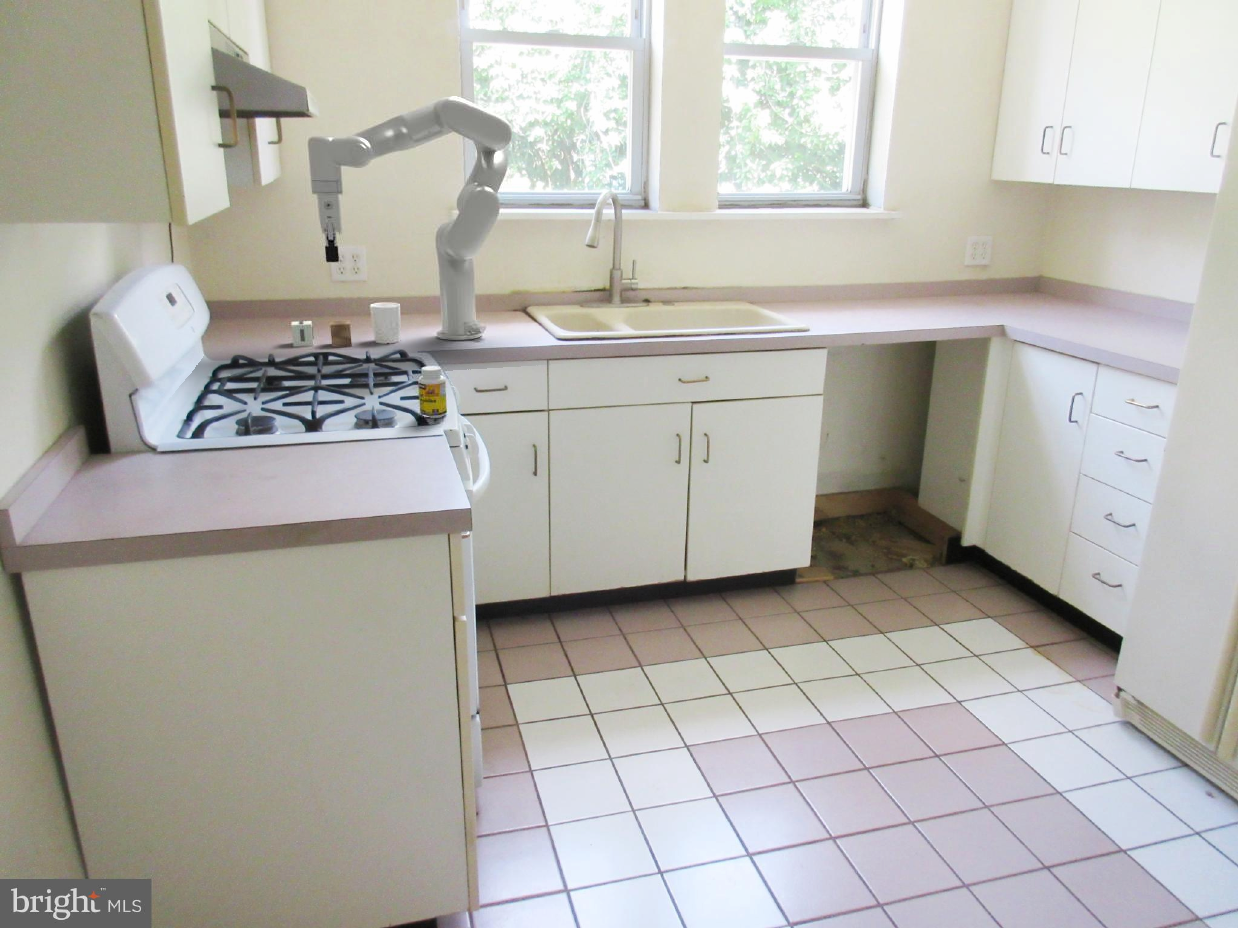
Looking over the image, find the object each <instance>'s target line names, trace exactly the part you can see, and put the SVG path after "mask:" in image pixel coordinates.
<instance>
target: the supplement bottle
mask: <svg viewBox="0 0 1238 928" xmlns="http://www.w3.org/2000/svg"><path fill="white" fill-rule="evenodd" d="M417 382H418V383H417V384H418V399H419V402H418V403H419V414H420V413H421V414H422V415H426V416H429V417H431V418H430V419H441V418H443V417H445V416H446V415H447V414H448V409H447V408H448V406H447V405H448V403H447V385H446V377H445V376H443V375H442V368H441V367H440V366H437V365H427V366H423V367H421V376H420V377H419V378H418V380H417ZM446 413H447V414H446ZM421 414H420V415H421ZM445 414H446V415H445ZM444 415H445V416H444ZM442 416H443V417H442Z"/></svg>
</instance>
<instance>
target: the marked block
mask: <svg viewBox="0 0 1238 928" xmlns="http://www.w3.org/2000/svg"><path fill="white" fill-rule="evenodd" d="M312 324H313V323H312V320H307V321H306V320H299V321H291V324H290V325H291V326H290V327H291V335H292V345H293V347H294V348H297V347H311V346H312V347H313V346H314V329H313V328H314V327H313V325H312Z"/></svg>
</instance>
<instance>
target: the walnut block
mask: <svg viewBox="0 0 1238 928" xmlns="http://www.w3.org/2000/svg"><path fill="white" fill-rule="evenodd" d="M350 322H351V321H350V320H340V321H339V320H336V321H335V320H334V321H330V322H329V326H330V327H329V328H330V336H331V338H330V339H331V347H332V348H342V347H343V348H347V347H353V346H352V344H353V343H352V333H351V323H350Z"/></svg>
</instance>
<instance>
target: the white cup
mask: <svg viewBox="0 0 1238 928" xmlns="http://www.w3.org/2000/svg"><path fill="white" fill-rule="evenodd" d="M369 308H370V316H371V325H372V331H373V333H374V334H373V336H374V342H375V343H377V344H383V345H384V344H387V343H389V344H395V343H399V342H400V341H401V304H400V303H399V302H388V301H387V302H376V303H372V304H370V305H369ZM387 345H388V344H387Z"/></svg>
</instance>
